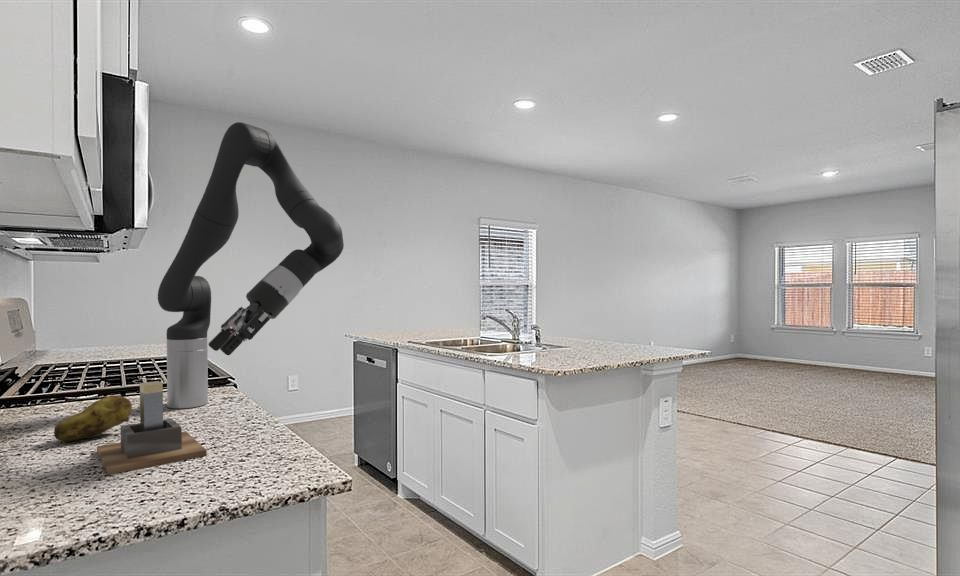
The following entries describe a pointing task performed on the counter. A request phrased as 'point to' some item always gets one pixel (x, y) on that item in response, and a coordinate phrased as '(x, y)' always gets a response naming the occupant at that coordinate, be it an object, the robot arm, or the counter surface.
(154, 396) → the tall square pillar
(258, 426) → the counter surface
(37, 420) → the counter surface
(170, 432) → the well board
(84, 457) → the counter surface
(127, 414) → the potato
